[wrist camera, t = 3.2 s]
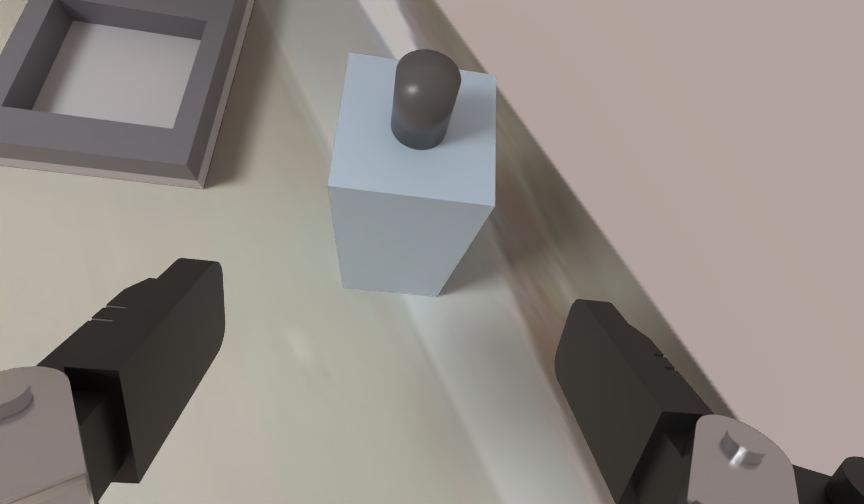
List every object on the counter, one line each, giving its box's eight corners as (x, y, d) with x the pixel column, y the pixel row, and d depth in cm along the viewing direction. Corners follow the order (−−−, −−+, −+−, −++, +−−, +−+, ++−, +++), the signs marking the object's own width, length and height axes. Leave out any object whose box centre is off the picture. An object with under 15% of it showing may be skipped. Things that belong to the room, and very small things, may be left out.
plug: (342, 287, 21) (320, 141, 10) (354, 202, 22) (346, -9, 11) (436, 296, 21) (519, 168, 10) (441, 212, 23) (517, 21, 12)
